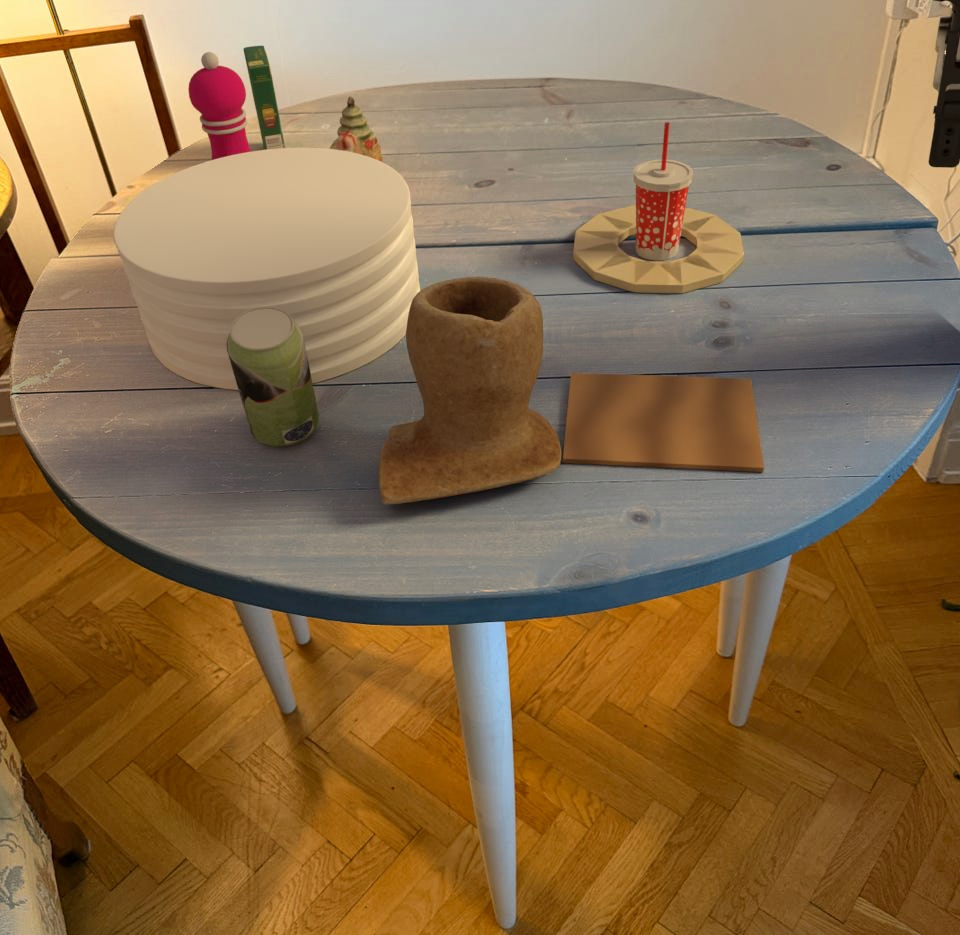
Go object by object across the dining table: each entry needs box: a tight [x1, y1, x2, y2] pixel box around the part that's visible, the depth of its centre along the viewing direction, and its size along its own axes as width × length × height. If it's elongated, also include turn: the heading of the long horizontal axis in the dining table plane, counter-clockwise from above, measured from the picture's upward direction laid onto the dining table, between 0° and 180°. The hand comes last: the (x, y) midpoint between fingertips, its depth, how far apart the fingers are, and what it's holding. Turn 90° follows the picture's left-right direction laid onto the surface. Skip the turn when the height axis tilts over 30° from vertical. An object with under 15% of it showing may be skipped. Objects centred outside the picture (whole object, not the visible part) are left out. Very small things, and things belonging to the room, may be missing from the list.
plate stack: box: [113, 147, 421, 391], centre depth 93 cm, size 28×28×12 cm
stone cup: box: [378, 276, 562, 505], centre depth 72 cm, size 15×12×15 cm
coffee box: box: [242, 45, 286, 150], centre depth 123 cm, size 8×3×13 cm, turn 15°
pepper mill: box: [188, 51, 253, 160], centre depth 104 cm, size 7×7×20 cm
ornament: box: [329, 95, 384, 163], centre depth 117 cm, size 8×6×10 cm
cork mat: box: [562, 372, 765, 473], centre depth 79 cm, size 16×12×1 cm
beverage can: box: [226, 307, 320, 447], centre depth 77 cm, size 6×7×12 cm
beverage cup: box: [633, 121, 694, 261], centre depth 97 cm, size 6×6×14 cm
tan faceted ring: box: [572, 204, 745, 294], centre depth 101 cm, size 18×18×1 cm
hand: (945, 146), depth 76 cm, fingers open, 8 cm apart
